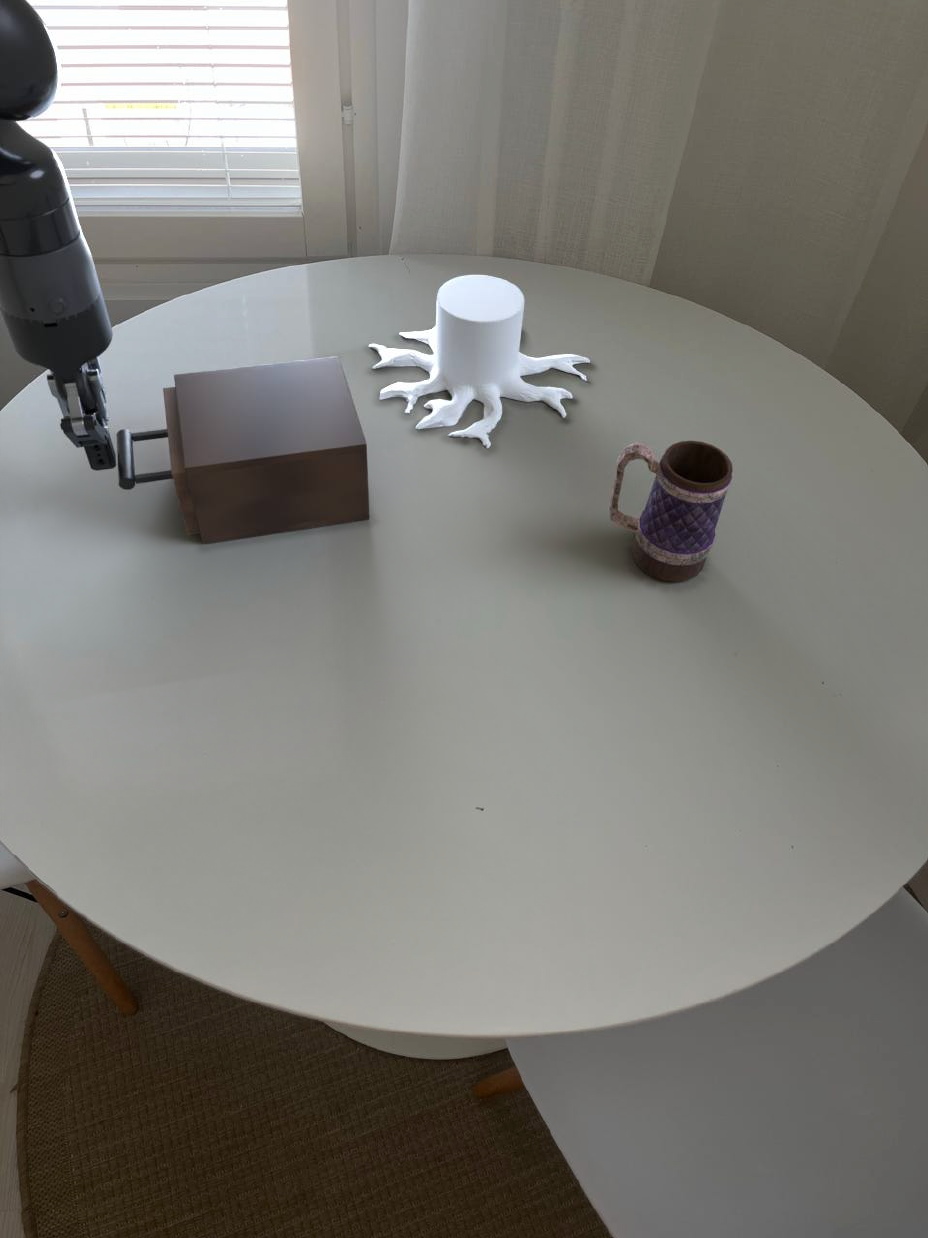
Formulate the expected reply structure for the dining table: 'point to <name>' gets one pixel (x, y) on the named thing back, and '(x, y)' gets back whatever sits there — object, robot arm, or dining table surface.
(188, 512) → the drawer
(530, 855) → the dining table surface
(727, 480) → the mug
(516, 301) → the white tree stump
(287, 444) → the cabinet
